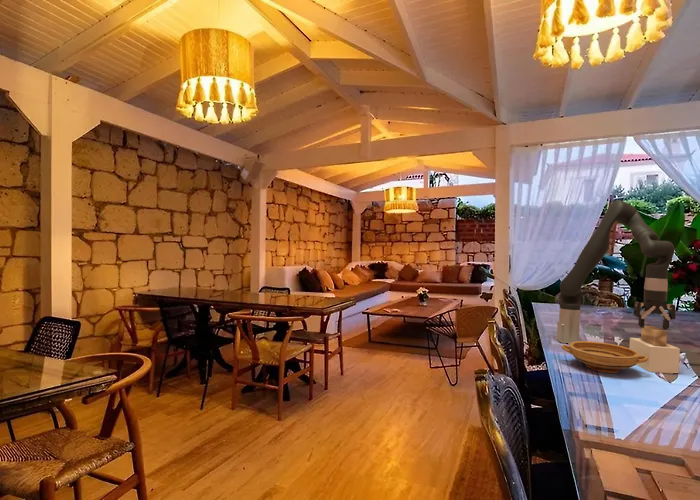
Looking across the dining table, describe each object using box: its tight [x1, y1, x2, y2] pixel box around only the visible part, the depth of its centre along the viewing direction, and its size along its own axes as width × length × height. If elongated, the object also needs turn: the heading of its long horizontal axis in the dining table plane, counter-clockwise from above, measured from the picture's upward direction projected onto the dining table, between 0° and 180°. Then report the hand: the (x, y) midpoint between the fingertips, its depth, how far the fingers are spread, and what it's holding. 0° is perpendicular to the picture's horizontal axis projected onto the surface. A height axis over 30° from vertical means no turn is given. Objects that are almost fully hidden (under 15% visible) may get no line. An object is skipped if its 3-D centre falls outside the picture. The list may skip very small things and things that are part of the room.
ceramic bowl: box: [560, 340, 648, 374], centre depth 159 cm, size 30×24×8 cm
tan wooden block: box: [640, 325, 668, 347], centre depth 163 cm, size 4×10×9 cm, turn 170°
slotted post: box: [628, 337, 681, 374], centre depth 163 cm, size 10×15×10 cm
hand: (653, 328), depth 162 cm, fingers open, 8 cm apart
